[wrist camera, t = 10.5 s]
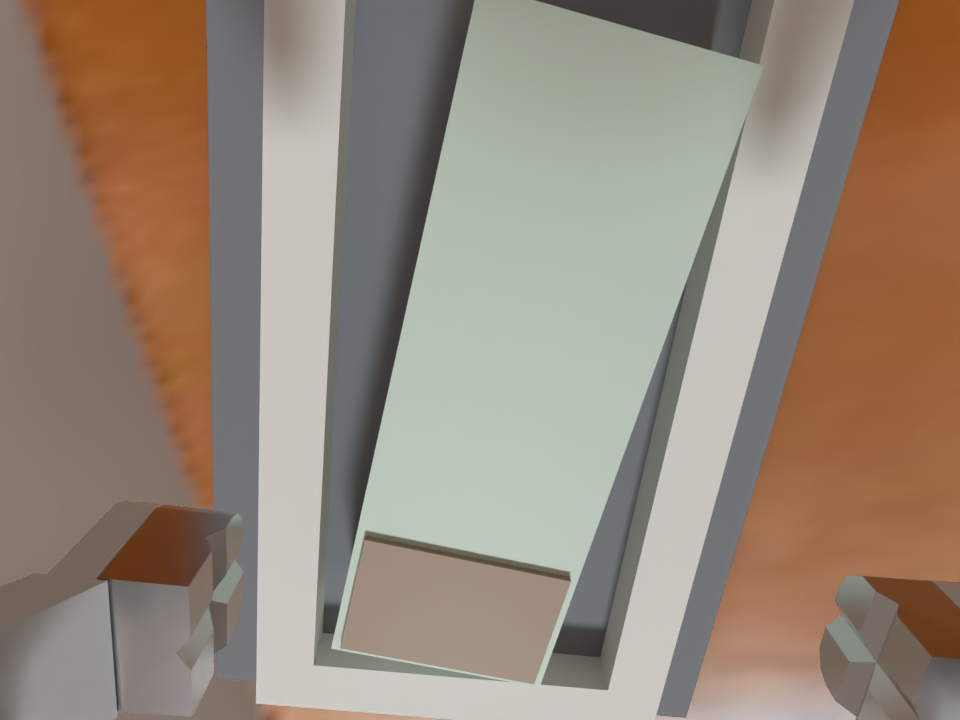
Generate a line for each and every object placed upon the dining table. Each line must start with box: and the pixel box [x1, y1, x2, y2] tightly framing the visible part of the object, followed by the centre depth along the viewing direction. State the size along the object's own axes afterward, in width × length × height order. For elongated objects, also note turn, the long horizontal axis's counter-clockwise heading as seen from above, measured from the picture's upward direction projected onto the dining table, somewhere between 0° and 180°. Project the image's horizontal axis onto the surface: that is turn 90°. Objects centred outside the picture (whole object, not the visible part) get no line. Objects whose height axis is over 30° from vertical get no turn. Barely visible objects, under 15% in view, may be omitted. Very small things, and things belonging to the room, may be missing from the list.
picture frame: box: [206, 0, 899, 720], centre depth 16 cm, size 22×14×2 cm, turn 173°
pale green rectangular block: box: [331, 0, 764, 687], centre depth 15 cm, size 5×14×3 cm, turn 166°
